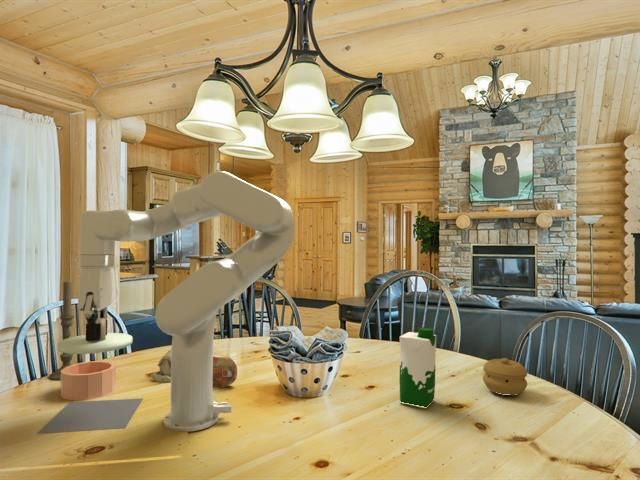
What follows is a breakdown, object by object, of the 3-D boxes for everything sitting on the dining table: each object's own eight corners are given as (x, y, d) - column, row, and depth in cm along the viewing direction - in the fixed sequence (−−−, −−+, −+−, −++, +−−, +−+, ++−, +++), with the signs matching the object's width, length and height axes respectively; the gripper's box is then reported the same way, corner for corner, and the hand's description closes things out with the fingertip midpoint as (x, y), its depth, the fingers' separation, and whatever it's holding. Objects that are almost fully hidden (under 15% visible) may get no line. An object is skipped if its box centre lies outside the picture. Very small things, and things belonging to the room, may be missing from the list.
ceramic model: (173, 369, 141) (173, 339, 141) (203, 372, 138) (203, 341, 138) (145, 382, 128) (145, 349, 128) (177, 386, 125) (178, 352, 125)
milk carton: (428, 411, 108) (429, 333, 108) (395, 404, 113) (396, 328, 113) (438, 400, 116) (439, 327, 116) (406, 394, 121) (407, 323, 121)
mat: (143, 400, 113) (143, 398, 113) (125, 430, 96) (125, 427, 96) (69, 404, 110) (69, 402, 110) (36, 436, 92) (36, 433, 92)
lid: (139, 336, 112) (139, 312, 112) (122, 352, 96) (123, 325, 96) (72, 338, 109) (72, 314, 109) (44, 355, 93) (45, 327, 93)
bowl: (120, 384, 126) (120, 360, 126) (106, 400, 113) (106, 374, 113) (72, 386, 123) (72, 362, 123) (52, 403, 111) (53, 376, 111)
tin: (192, 381, 129) (193, 353, 129) (200, 378, 132) (200, 351, 132) (231, 389, 122) (232, 360, 122) (238, 386, 125) (239, 357, 125)
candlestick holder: (52, 372, 135) (53, 278, 135) (85, 369, 139) (86, 277, 139) (45, 381, 127) (46, 281, 127) (80, 378, 130) (81, 280, 130)
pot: (484, 397, 119) (484, 361, 119) (481, 384, 130) (481, 351, 130) (530, 403, 115) (531, 366, 115) (523, 388, 126) (524, 355, 126)
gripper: (92, 260, 110) (91, 331, 110) (66, 264, 94) (65, 347, 94) (123, 260, 112) (122, 330, 112) (103, 264, 95) (102, 346, 95)
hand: (96, 337), depth 103 cm, fingers closed on lid, 4 cm apart
